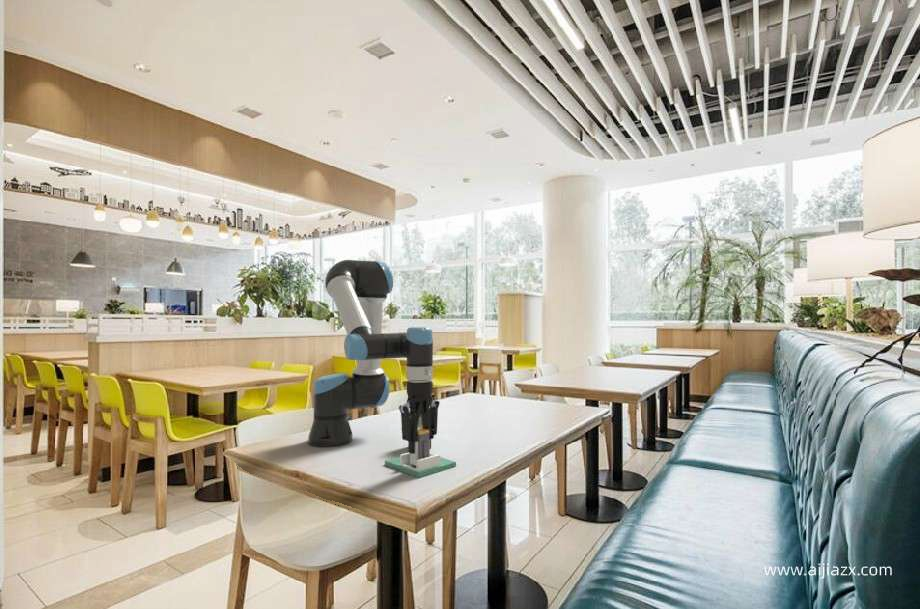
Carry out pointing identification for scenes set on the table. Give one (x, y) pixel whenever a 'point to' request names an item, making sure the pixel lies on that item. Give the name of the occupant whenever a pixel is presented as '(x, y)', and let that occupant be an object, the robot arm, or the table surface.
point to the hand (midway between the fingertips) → (420, 462)
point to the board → (420, 464)
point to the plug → (422, 443)
